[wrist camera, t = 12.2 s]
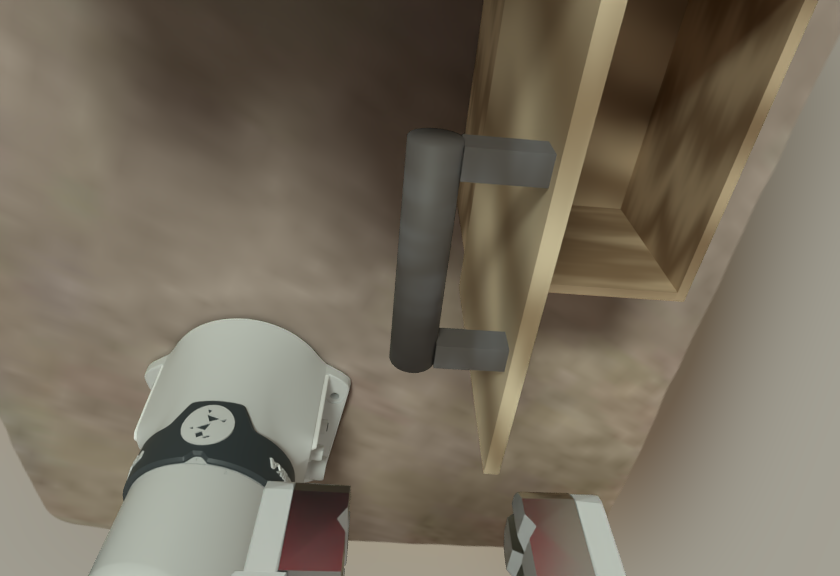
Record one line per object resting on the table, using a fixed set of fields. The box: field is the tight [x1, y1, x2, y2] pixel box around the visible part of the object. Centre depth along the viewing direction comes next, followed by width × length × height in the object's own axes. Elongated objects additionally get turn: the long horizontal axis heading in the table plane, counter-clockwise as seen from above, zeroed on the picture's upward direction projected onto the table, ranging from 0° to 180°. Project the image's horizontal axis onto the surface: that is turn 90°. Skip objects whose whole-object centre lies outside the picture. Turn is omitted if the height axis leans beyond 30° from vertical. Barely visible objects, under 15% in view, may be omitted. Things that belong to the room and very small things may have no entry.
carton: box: [457, 0, 818, 302], centre depth 33 cm, size 18×13×12 cm
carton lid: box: [389, 0, 628, 474], centre depth 22 cm, size 18×13×5 cm
